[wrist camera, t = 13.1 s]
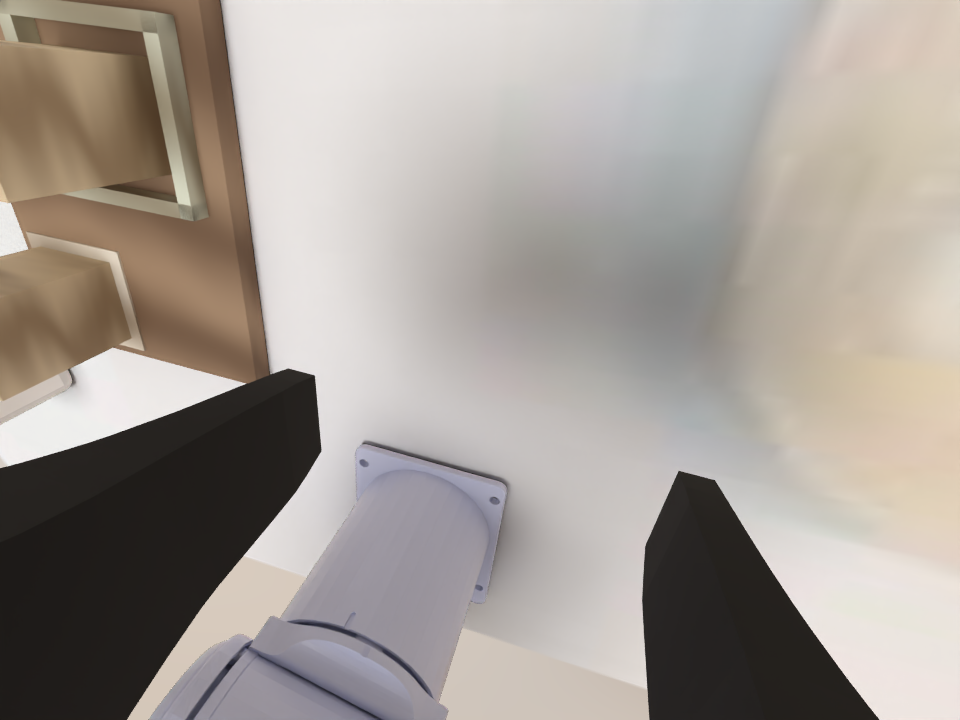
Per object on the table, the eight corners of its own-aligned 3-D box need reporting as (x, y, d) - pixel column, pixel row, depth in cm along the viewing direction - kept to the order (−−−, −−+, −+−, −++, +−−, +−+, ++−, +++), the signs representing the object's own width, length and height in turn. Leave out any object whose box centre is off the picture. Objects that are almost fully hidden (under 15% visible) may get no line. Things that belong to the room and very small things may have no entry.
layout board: (269, 376, 24) (155, 466, 19) (78, 325, 26) (-80, 391, 21) (217, -17, 16) (-17, -81, 10) (-53, -46, 18) (-376, -112, 12)
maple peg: (172, 174, 19) (8, 202, 14) (90, 159, 20) (-94, 181, 15) (147, 56, 17) (-55, 40, 12) (57, 45, 18) (-169, 25, 13)
